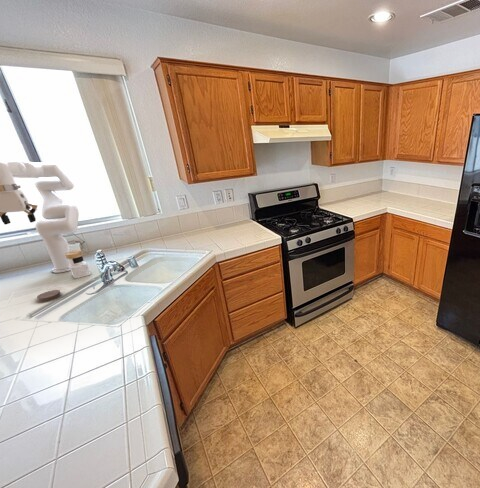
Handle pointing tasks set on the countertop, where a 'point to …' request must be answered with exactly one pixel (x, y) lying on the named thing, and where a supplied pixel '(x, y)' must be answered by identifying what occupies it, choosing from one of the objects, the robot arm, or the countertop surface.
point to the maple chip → (73, 254)
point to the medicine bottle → (78, 267)
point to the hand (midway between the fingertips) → (20, 222)
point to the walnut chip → (49, 295)
